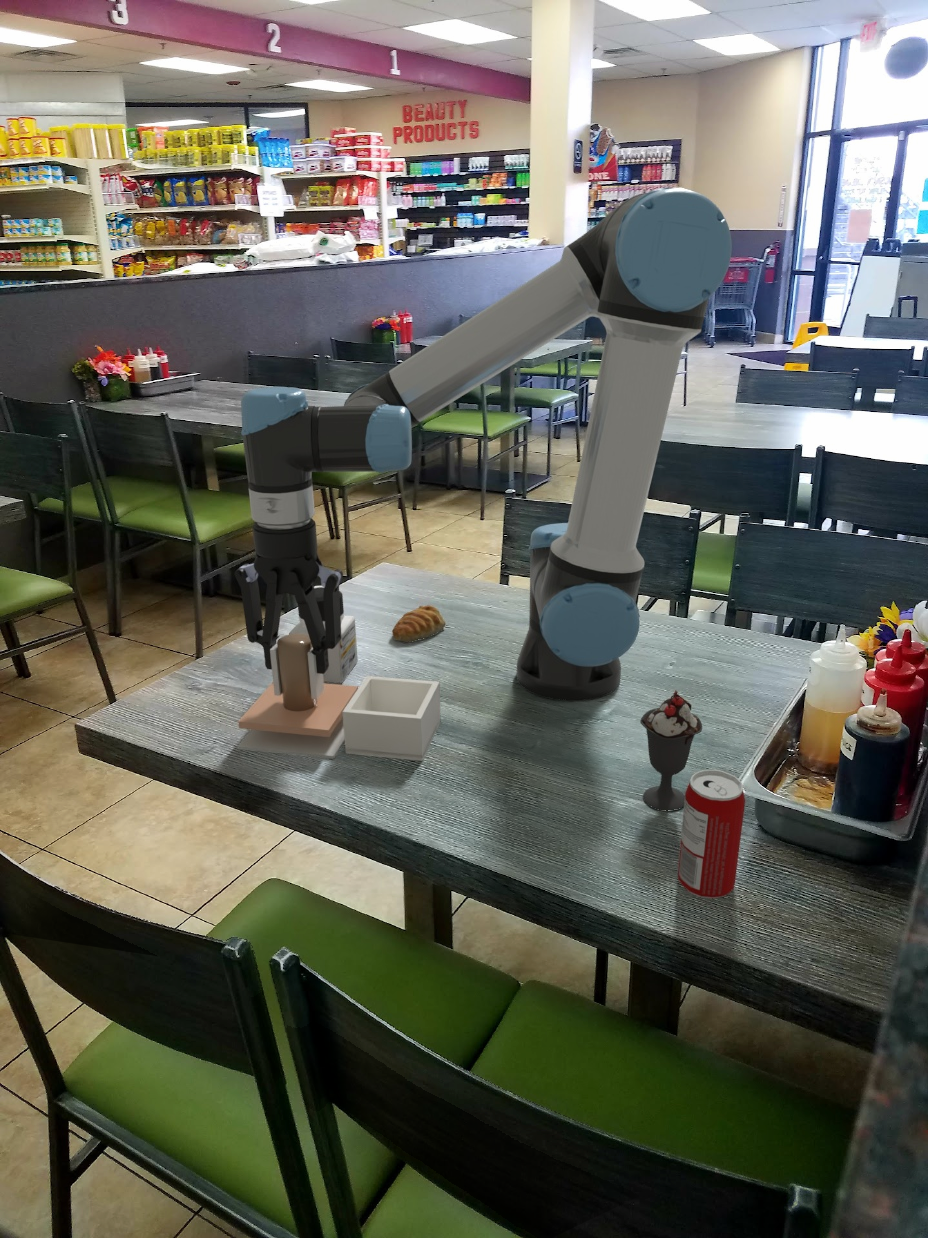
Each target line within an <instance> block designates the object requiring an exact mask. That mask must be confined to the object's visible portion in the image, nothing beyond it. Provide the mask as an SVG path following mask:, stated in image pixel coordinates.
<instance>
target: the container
mask: <svg viewBox="0 0 928 1238" xmlns="http://www.w3.org/2000/svg"><path fill="white" fill-rule="evenodd" d="M313 586H314V585H313ZM314 589H315V598H316V601H317V605H318V608H319V611H320V615H321V618H322V621H323V624H324V628H325V616H324V599H323V593H324V587H323V586H322V585H315V586H314ZM343 595H344V594H343V592H342V591H341V590H340V589H339V597H340V617H341V640H340V641H339V643H338V644H337V645H336V646H335V648H333V649H328V660H329V667H328V669H327V671H326V672H325V673H324V674H323V680H324V683H327V684H343V683H344V681H345V680H346V678H347V677H348V676H349V674H350V673H351V672H352V670H353V669H354V667H355V666H356V664H357V663H358V658H359V657H358V645H357V631H356V618H355V616H353V615H345V613H344V612H345V611H344V597H343ZM297 611H298V613H297V614H298V620H299V621H298V622H297V624H295V626H294V627H293V628H292V629H291V630H290V631H289V633H288V635H290V634H305V635H308V636H309V634H308V631H307V628H306V625H305V622H304V618H303V615H302V612H301V609H300V605H299V604H298V603H297Z"/></svg>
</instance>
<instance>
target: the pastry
mask: <svg viewBox="0 0 928 1238" xmlns="http://www.w3.org/2000/svg"><path fill="white" fill-rule="evenodd" d="M445 627H446V621H445V620H444V617H443V615H442V614H441V613H440V611H439V609H438V608H436V607H435V606H433V605H429V604H428V605H424V606H423V605H419V607H418V608H416V609H413V610H411V611H407V612H406V613H404V614H403V615H402V617H401V618H400V619H399V620H398V621H397V622H396V624H395V625H394V627H393V629H392V631H391V633H392V639H393V640H396V641H400V642H404V643H413V642H412V641H414V642H416V641H415V640H417V641H419V640H418V639H421V640H424V639H423V638H426V639H428V638H429V636H430V637H432V636H434V635H436V634H438V633H440V632H441V631H443V630H444V628H445ZM439 631H440V632H439ZM437 632H438V633H437ZM433 634H434V635H433ZM431 635H432V636H431Z"/></svg>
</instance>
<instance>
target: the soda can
mask: <svg viewBox="0 0 928 1238" xmlns="http://www.w3.org/2000/svg"><path fill="white" fill-rule="evenodd" d="M744 792H745V791H744V785H743V782H742V781H741V780H740V779H739V777H737V776H736V775H733V774H731V773H729V772H726V771H723V770H719V769H703V770H699V771H697V772H695V773H694V774H692V775H691V777H690V780H689V784H688V785H687V787H686V789H685V793H684V795H685V801H684V807H683V814H682V823H681V833H680V843H679V854H678V855H679V856H678V866H677V880H678V881H679V883H680V885H682V887H684V889H686V891H688V893H689V894H691V895H694V896H695V895H696V897H698V898H700V897H701V898H702V899H710V900H712V898H713V899H718V898H722V896H723V897H725V896H727V895H728V894H730V893H731V892H732V891H733V890H734V889H735V886H736V885H735V884H736V878H737V869H738V864H739V863H738V861H739V855H740V854H739V853H740V848H741V847H740V846H741V840H742V839H741V836H742V832H743V831H742V829H743V824H744V823H743V821H744V814H745V807H746V805H745V804H746V798H745V793H744Z"/></svg>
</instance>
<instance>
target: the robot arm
mask: <svg viewBox="0 0 928 1238" xmlns="http://www.w3.org/2000/svg"><path fill="white" fill-rule="evenodd" d="M731 236H732V235H731V230H730V226H729V225H728V222H727V220H726V218H725V216H724V214H723V212H722V211H721V209H720V208H719V207H718V206H717V205H716V204H715V203H714V202H713V201H712V200H711V199H710V198H708V197H707V196H705V195H704V194H702V193H699V192H697V191H693V190H690V189H686V188H684V187H671V186H664V187H660V188H656V189H654V190H651V191H648V192H644V193H640V194H636V195H634V196H631V197H630V198H628V199H627V200H625V201H623V202H621V203H620V204H619V205H618V206H617V207H615V208H614V209H613V210H612V211H611V212H609V213H608V214H607V215H606V216H605V217H604V218H602V219H601V220H600V221H599V222H598V223H597V224H595V225H594V226H593V227H591V229H589V230H588V231H586V232H585V233H584V234H583V235H581V236H580V237H579V238H577V239H575V240H574V241H572V242H571V243H569V244H568V245H567V246H565V247H563V250H562V254H561V257H560V258H561V259H559V260H558V262H556V263H554V264H553V265H550V267H548V268H546V269H545V270H544V271H542V272H540V273H538V274H537V275H535V276H534V277H533V278H532V279H530V280H528V281H527V282H525V283H523V284H522V285H520V286H518V287H517V288H515V289H514V290H512V291H511V292H509V293H508V294H506V295H505V296H503V297H502V298H500V299H499V300H497V301H495V302H494V303H493V304H491V305H489V306H488V307H486V308H485V309H483V310H482V311H479V313H477V314H475V315H473V316H472V317H471V318H469V319H467V320H466V321H464V322H463V323H461V324H460V325H458V326H457V327H455V328H454V329H451V330H450V331H449V332H447V333H446V334H444V335H443V336H441V337H439V338H438V339H436V340H435V341H433V342H431V343H430V344H429V345H427V346H426V347H424V348H423V349H421V350H419V351H418V352H416V353H415V354H412V356H410V357H409V358H406V360H404V361H403V362H400V363H399V364H398V365H396V366H395V367H392V368H391V369H390V370H389V371H387V373H385V374H383V375H381V376H379V377H378V378H376V379H375V380H373V381H372V382H370V383H367V384H364V385H361V386H359V387H358V388H356V389H355V390H354V391H352V392H351V393H349V395H348V397H347V399H346V400H345V401H344V403H343V405H341V406H339V405H338V406H337V405H334V406H315V405H309V402H308V400H307V396H306V393H305V391H304V390H302V389H301V388H298V387H294V386H293V387H291V386H290V387H289V386H288V387H287V386H270V387H269V386H267V387H266V386H265V387H261V388H254V389H250V390H249V391H247V392H246V393H245V394H243V396H242V397H241V398H240V399H241V400H240V408H241V409H240V410H241V411H240V412H241V431H240V433H241V434H240V435H241V437H242V442H243V451H244V458H245V465H246V466H245V467H246V473H247V475H246V476H247V484H248V494H249V505H250V506H249V507H250V515H251V519H252V520H253V522H254V523H253V524H252V533H253V534H252V535H253V544H254V545H253V546H254V551H255V555H256V556H255V558H254V560H253V562H252V563H250V564H249V563H243V565H242V566H240V567H239V568H238V569H236V570H235V571H234V577H235V579H236V581H237V583H238V584H239V585H238V586H239V587H240V591H241V592H240V593H241V599H242V600H241V601H242V606H243V613H244V621H245V629H246V635H247V636H246V637H247V640H248V641H249V642H250V643H253V644H254V643H256V644H259V645H261V646H262V649H263V657H264V664H265V669H266V670H271V674H272V682H273V685H274V694H275V695H278V696H280V695H281V694H282V686H281V676H280V666H279V656H278V646H277V641H278V639H280V636H281V635H279V629H280V622H281V614H282V609H283V608H282V607H283V601H284V600H283V599H284V595H285V594H288V595H291V596H294V598H295V602H296V604H297V605H298V604H299V605H300V609H301V612H302V615H303V618H304V622H305V625H306V628H307V631H308V634H309V638H310V641H311V644H312V649H311V650H310V651H309V652H308V664H309V675H310V687H311V698H312V699H318V697H319V696H320V695H321V693H322V692H323V691H324V683H325V682H324V680H323V674H324V673H325V672H326V671H327V669H328V667H329V660H328V649H333V648H335V646H336V645H337V644H338V643H339V641H340V640H341V617H340V597H339V590H340V585H341V582H342V579H343V576H344V573H343V571H342V570H341V569H339V568H337V569H335V570H332V569H330V568H327V567H325V566H323V563H322V561H321V559H320V557H319V555H318V538H317V526H316V521H315V520H314V519H313V517H314V516H316V511H315V500H314V497H315V496H314V488H313V487H314V486H313V477H312V474H313V473H312V472H315V473H316V472H317V473H319V472H320V473H324V472H328V473H329V472H330V473H331V472H333V473H334V472H337V473H339V472H343V473H344V472H346V473H347V472H348V473H351V472H355V473H356V472H366V473H371V472H372V473H374V472H376V473H378V474H379V473H380V474H382V473H383V474H384V473H386V472H393V471H395V472H396V471H404V470H407V469H408V468H409V467H410V466H411V464H412V460H413V459H412V456H413V455H412V452H413V447H412V446H413V440H412V438H413V437H412V428H414V427H416V426H417V425H419V424H420V423H421V422H423V421H424V420H425V419H427V418H429V417H430V416H432V415H434V414H435V413H437V412H439V411H440V410H442V409H444V408H445V407H447V406H449V405H450V404H451V403H453V402H454V401H456V400H458V399H460V398H462V396H464V395H466V394H468V393H469V392H472V390H474V389H475V388H477V387H479V386H480V385H482V384H484V383H486V382H487V381H489V380H490V379H492V378H494V377H495V376H497V375H499V374H500V373H501V372H503V371H504V370H506V369H508V368H509V367H511V366H513V365H515V364H516V363H518V362H519V361H521V360H523V359H524V358H526V357H527V356H529V355H530V354H532V353H534V352H535V351H537V350H539V349H541V348H542V347H543V346H545V345H547V344H548V343H550V342H551V341H553V340H555V339H556V338H558V337H559V336H561V335H563V334H564V333H566V332H568V331H569V330H571V329H572V328H574V327H576V326H577V325H578V324H580V323H582V322H584V321H586V320H587V319H589V318H591V317H595V318H596V319H597V318H598V319H599V320H600V322H601V323H602V325H603V326H604V328H605V331H606V335H605V340H604V345H603V350H602V354H601V360H600V364H599V370H598V376H597V378H596V379H597V380H596V384H595V389H594V395H593V400H592V405H591V409H590V413H589V420H588V424H587V429H586V434H585V438H584V443H583V448H582V452H581V457H580V463H579V467H578V468H579V469H578V472H577V478H576V482H575V488H574V492H573V496H572V497H573V498H572V502H571V508H570V511H569V516H568V522H562V523H561V522H560V523H559V522H558V523H551V524H545V525H544V524H543V525H541V526H538V527H536V528H535V529H534V530H533V531H532V532H531V535H530V544H529V545H530V546H529V547H528V551H529V552H530V557H529V562H530V566H529V570H530V571H529V618H528V619H529V621H528V622H529V626H528V630H527V633H526V636H525V639H524V640H523V644H522V646H521V649H520V651H519V652H520V653H519V655H518V657H517V660H516V661H517V662H516V679H517V682H518V683H519V684H520V686H521V687H522V688H524V689H525V690H526V691H528V692H530V693H532V694H534V695H535V696H536V695H537V696H539V697H541V698H546V699H549V700H550V699H551V700H557V701H564V702H565V701H567V702H568V701H570V702H572V701H573V702H577V701H578V702H579V701H580V702H581V701H588V700H594V699H597V698H601V697H604V696H606V695H608V694H610V693H612V692H614V691H615V690H616V689H617V688H618V687H619V686H620V683H621V674H622V673H621V672H622V665H621V661H620V657H622V656H623V655H624V654H626V653H627V652H628V651H629V650H630V649H631V648H632V646H633V644H634V643H635V641H636V639H637V637H638V634H639V631H640V624H641V623H640V617H641V616H640V615H641V614H640V611H639V610H640V609H639V607H638V605H637V602H636V601H637V596H638V593H639V588H640V583H641V580H642V575H643V573H644V572H643V571H644V568H645V560H644V558H643V556H642V555H641V553H640V551H639V550H638V549H637V543H638V539H639V533H640V530H641V526H642V522H643V516H644V512H645V509H646V505H647V500H648V497H649V491H650V487H651V483H652V479H653V475H654V471H655V466H656V462H657V459H658V454H659V449H660V446H661V441H662V437H663V431H664V428H665V424H666V419H667V416H668V411H669V407H670V403H671V399H672V394H673V391H674V386H675V382H676V377H677V374H678V369H679V365H680V361H681V356H682V352H683V348H684V346H685V344H687V342H689V341H690V340H692V339H693V338H694V337H696V336H697V335H699V334H700V333H701V332H702V329H703V323H704V320H705V316H706V313H707V309H708V304H709V300H710V298H711V297H712V296H713V295H714V293H715V292H716V291H717V290H718V289H719V287H720V286H721V284H722V282H723V281H724V279H725V277H726V274H727V273H728V271H729V270H728V269H729V267H730V263H731V260H732V259H731V257H732V250H733V248H732V247H733V243H732V237H731ZM258 577H260V578H261V579H262V580H263V582H264V583H265V585H266V591H265V592H266V593H265V600H266V602H265V611H264V619H263V615H262V614H263V613H262V612H263V611H262V606H261V605H262V604H261V597H260V588H259V582H258ZM318 577H319V578H320V584H321V585H320V586H323V587H324V593H323V599H324V616H325V628H324V624H323V621H322V618H321V615H320V611H319V608H318V605H317V601H316V598H315V589H314V583H315V581H316V579H317V578H318Z"/></svg>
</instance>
